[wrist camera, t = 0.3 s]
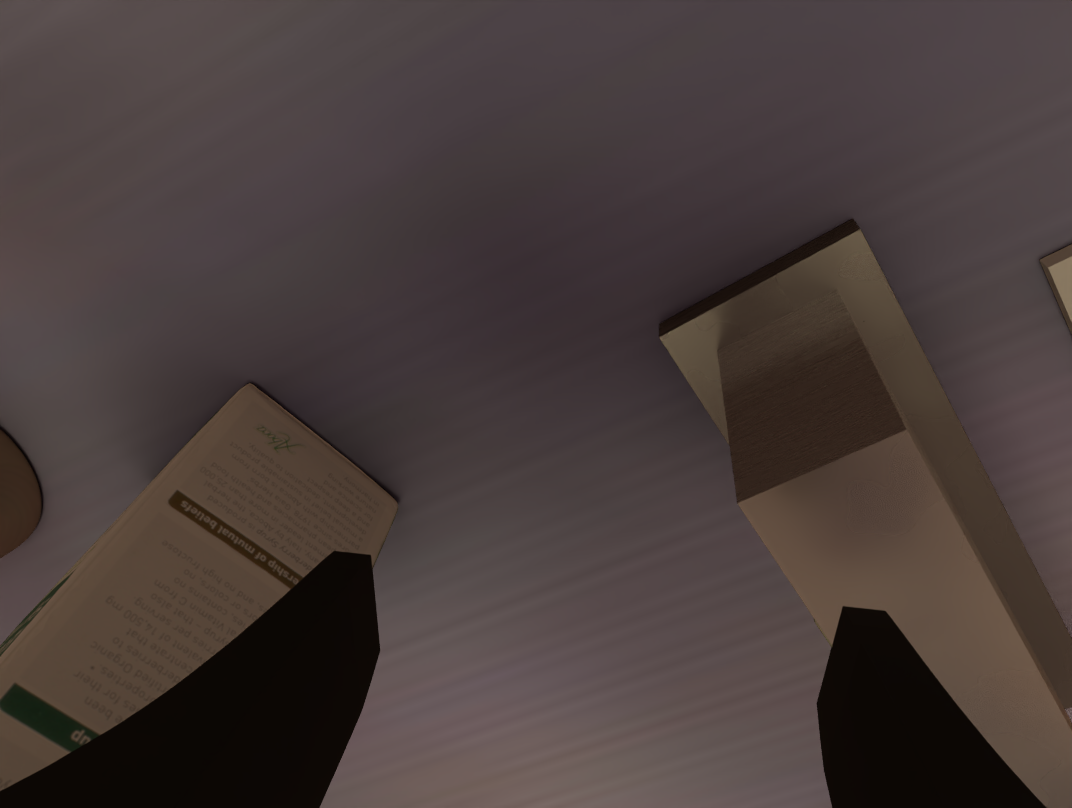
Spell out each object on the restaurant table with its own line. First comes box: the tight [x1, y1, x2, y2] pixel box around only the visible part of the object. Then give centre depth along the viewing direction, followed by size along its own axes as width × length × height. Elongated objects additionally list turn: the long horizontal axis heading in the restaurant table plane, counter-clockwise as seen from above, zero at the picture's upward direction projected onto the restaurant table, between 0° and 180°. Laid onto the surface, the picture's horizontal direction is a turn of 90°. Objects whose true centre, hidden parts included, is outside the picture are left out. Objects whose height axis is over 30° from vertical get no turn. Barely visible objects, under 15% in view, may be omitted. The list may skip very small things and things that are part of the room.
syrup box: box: [0, 383, 398, 791], centre depth 19 cm, size 6×6×14 cm
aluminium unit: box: [659, 219, 1072, 808], centre depth 19 cm, size 16×5×7 cm, turn 35°
